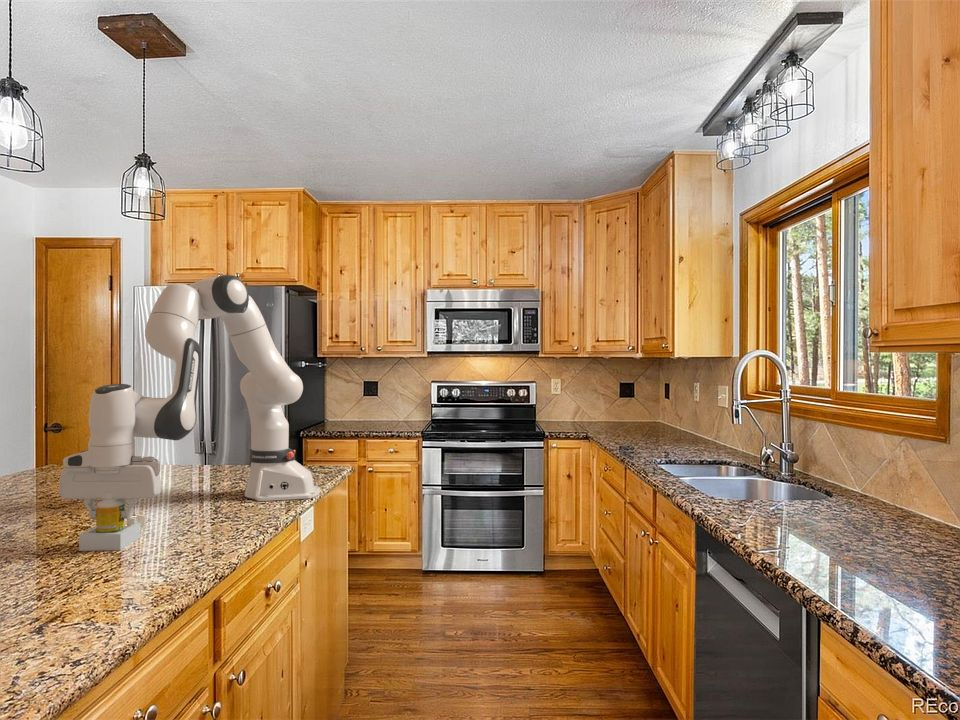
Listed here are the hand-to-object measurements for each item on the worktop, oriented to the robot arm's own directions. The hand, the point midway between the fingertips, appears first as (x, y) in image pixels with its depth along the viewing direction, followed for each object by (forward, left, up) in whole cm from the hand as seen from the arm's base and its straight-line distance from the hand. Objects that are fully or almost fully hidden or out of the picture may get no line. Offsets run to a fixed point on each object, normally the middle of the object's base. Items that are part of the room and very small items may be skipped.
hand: (110, 517), depth 126 cm
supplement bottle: (0, 0, -4) cm, 4 cm away
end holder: (0, 0, -6) cm, 6 cm away
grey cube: (+3, -8, -6) cm, 10 cm away
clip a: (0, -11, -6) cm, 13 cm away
